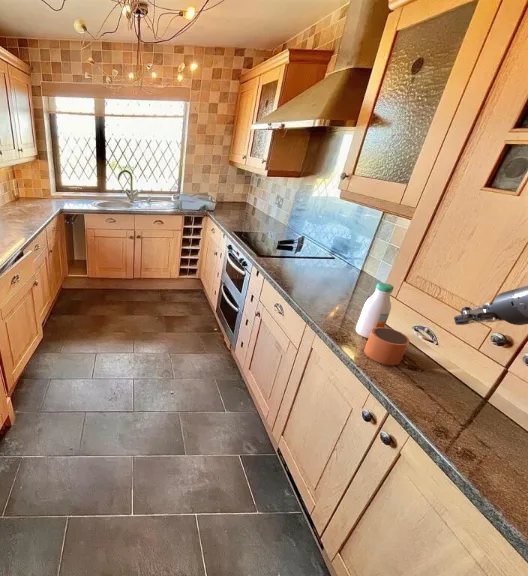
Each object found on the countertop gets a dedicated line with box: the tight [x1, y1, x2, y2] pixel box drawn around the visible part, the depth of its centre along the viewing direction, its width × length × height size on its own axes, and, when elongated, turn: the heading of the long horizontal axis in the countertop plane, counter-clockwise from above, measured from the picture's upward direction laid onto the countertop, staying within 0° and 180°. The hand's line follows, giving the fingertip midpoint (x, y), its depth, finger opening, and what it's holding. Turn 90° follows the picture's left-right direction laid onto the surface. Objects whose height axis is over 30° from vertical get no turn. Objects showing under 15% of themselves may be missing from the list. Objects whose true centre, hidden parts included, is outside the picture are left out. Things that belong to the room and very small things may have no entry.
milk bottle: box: [355, 282, 394, 339], centre depth 109 cm, size 8×8×20 cm
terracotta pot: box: [363, 326, 410, 366], centre depth 101 cm, size 10×10×8 cm
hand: (457, 321), depth 79 cm, fingers closed
